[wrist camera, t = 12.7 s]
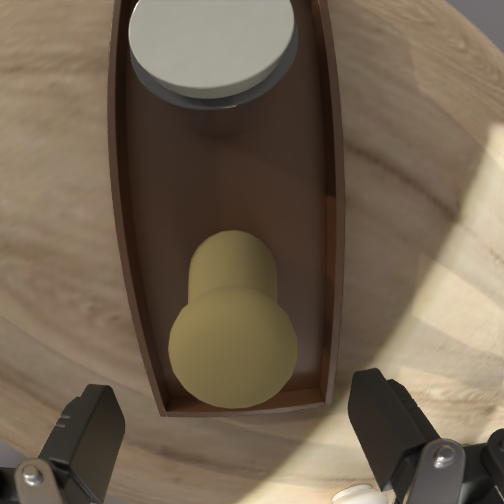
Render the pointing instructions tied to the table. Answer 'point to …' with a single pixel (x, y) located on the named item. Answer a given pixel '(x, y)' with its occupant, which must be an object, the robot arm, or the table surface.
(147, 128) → the tray
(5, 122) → the table surface
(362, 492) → the flower vase
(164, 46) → the cylinder
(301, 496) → the table surface
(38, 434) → the table surface
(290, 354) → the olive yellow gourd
